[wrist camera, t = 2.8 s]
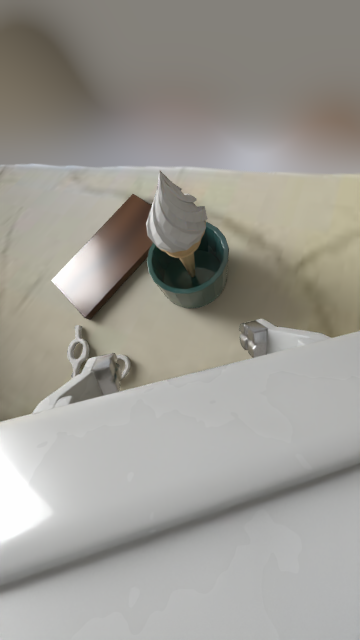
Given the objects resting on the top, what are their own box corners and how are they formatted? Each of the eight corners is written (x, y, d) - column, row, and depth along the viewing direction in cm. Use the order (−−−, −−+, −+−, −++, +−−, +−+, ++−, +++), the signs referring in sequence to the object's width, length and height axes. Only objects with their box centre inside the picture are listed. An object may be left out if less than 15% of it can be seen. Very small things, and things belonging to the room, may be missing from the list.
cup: (148, 282, 28) (132, 263, 23) (190, 236, 28) (183, 207, 23) (195, 322, 25) (188, 310, 20) (241, 270, 25) (246, 245, 20)
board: (57, 283, 32) (51, 280, 31) (136, 199, 33) (133, 193, 31) (90, 319, 29) (84, 317, 27) (176, 225, 29) (174, 220, 28)
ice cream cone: (213, 292, 25) (203, 196, 11) (173, 295, 26) (117, 212, 12) (211, 256, 27) (201, 129, 12) (173, 260, 28) (123, 149, 14)
